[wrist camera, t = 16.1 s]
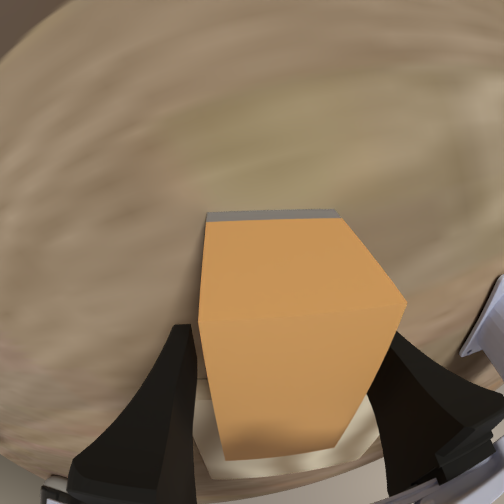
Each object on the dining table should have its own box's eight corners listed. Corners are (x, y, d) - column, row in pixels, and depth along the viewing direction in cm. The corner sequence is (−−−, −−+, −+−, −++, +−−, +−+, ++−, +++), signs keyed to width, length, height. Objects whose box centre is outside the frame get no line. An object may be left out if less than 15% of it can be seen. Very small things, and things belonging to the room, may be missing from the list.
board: (419, 349, 18) (428, 365, 16) (354, 449, 27) (357, 459, 25) (180, 379, 16) (178, 400, 15) (211, 467, 25) (212, 479, 24)
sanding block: (333, 207, 12) (407, 302, 7) (308, 356, 16) (334, 447, 11) (207, 211, 11) (198, 321, 6) (221, 363, 16) (225, 460, 11)
